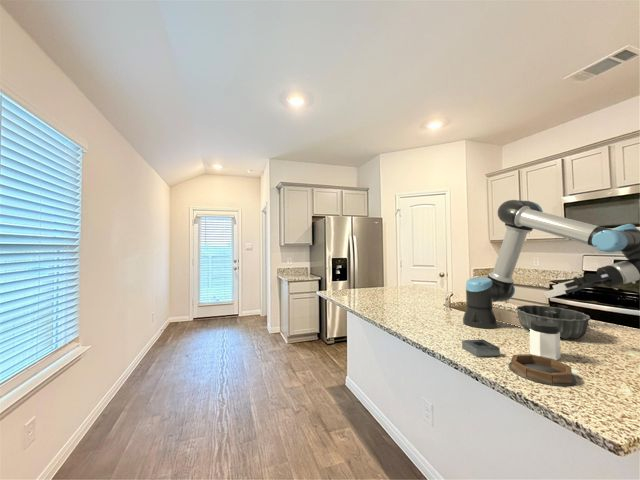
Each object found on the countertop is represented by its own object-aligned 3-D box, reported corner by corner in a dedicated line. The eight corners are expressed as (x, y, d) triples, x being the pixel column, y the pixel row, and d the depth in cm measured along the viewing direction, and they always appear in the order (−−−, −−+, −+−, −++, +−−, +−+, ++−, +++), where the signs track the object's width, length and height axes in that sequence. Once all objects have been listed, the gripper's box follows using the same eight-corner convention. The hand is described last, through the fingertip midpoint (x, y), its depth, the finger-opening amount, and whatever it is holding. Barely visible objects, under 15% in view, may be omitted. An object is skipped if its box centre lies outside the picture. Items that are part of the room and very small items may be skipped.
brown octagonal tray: (496, 362, 97) (496, 354, 97) (541, 360, 98) (541, 352, 98) (538, 387, 80) (538, 377, 80) (592, 384, 81) (592, 375, 81)
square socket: (462, 347, 110) (462, 340, 110) (483, 347, 111) (483, 339, 111) (476, 357, 101) (476, 348, 101) (499, 356, 102) (499, 347, 102)
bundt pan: (607, 340, 118) (607, 317, 118) (558, 345, 112) (557, 321, 112) (545, 323, 143) (545, 303, 143) (503, 326, 138) (502, 306, 138)
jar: (554, 363, 96) (553, 328, 96) (527, 355, 103) (526, 322, 103) (563, 357, 101) (562, 324, 101) (536, 349, 108) (536, 319, 108)
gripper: (642, 276, 88) (565, 296, 95) (608, 290, 109) (547, 305, 116) (625, 255, 91) (552, 276, 98) (596, 272, 112) (537, 288, 119)
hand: (549, 292), depth 107 cm, fingers open, 13 cm apart
